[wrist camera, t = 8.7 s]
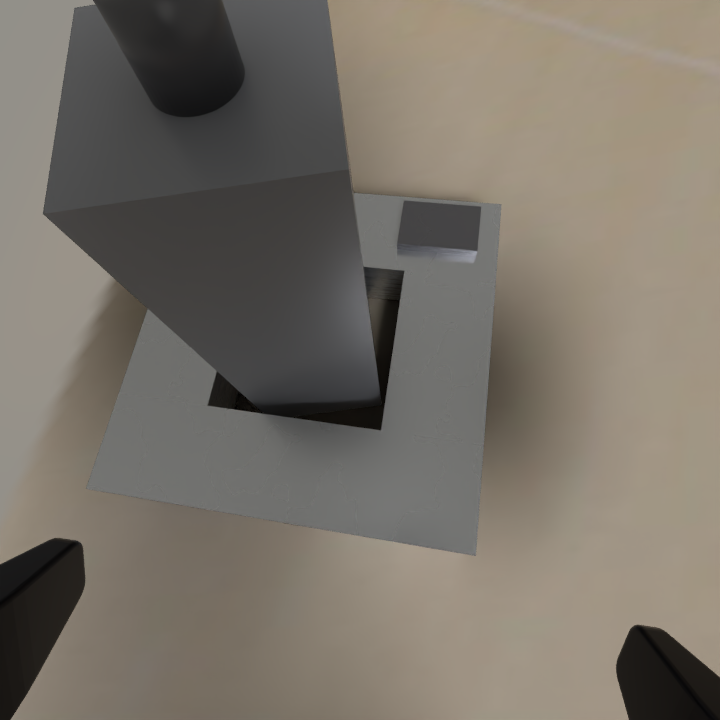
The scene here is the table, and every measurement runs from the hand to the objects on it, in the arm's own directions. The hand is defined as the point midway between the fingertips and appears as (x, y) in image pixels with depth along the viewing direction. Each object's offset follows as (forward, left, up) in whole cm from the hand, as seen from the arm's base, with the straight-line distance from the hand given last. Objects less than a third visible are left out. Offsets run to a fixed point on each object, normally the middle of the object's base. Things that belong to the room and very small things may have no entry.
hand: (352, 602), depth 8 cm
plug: (+7, +3, -10) cm, 13 cm away
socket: (+7, +3, -10) cm, 13 cm away
